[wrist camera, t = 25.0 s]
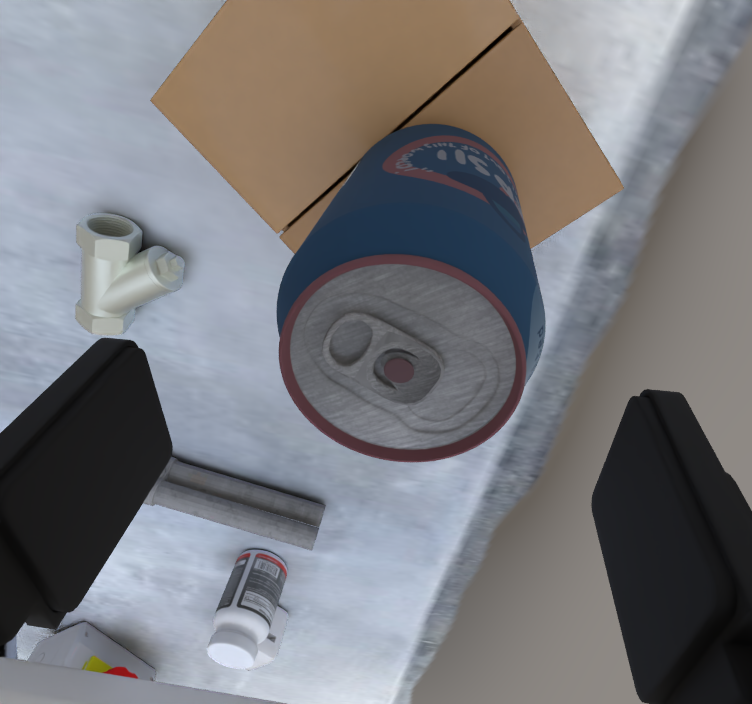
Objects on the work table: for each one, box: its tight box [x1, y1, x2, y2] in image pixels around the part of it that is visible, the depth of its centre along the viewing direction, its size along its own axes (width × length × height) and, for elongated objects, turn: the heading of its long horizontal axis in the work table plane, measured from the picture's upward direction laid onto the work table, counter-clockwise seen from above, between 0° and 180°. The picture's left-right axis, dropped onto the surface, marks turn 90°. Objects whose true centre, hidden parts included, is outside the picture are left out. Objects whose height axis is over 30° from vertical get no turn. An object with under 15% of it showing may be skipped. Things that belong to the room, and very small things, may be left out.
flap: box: [150, 0, 519, 233], centre depth 20 cm, size 7×13×1 cm, turn 131°
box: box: [280, 1, 624, 254], centre depth 25 cm, size 15×13×10 cm
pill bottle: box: [207, 550, 287, 669], centre depth 53 cm, size 6×6×10 cm
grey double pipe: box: [143, 457, 325, 550], centre depth 47 cm, size 26×3×5 cm, turn 75°
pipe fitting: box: [75, 213, 185, 336], centre depth 37 cm, size 8×4×7 cm
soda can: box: [277, 124, 545, 462], centre depth 17 cm, size 7×7×12 cm
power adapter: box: [245, 606, 288, 671], centre depth 61 cm, size 11×5×6 cm, turn 136°
